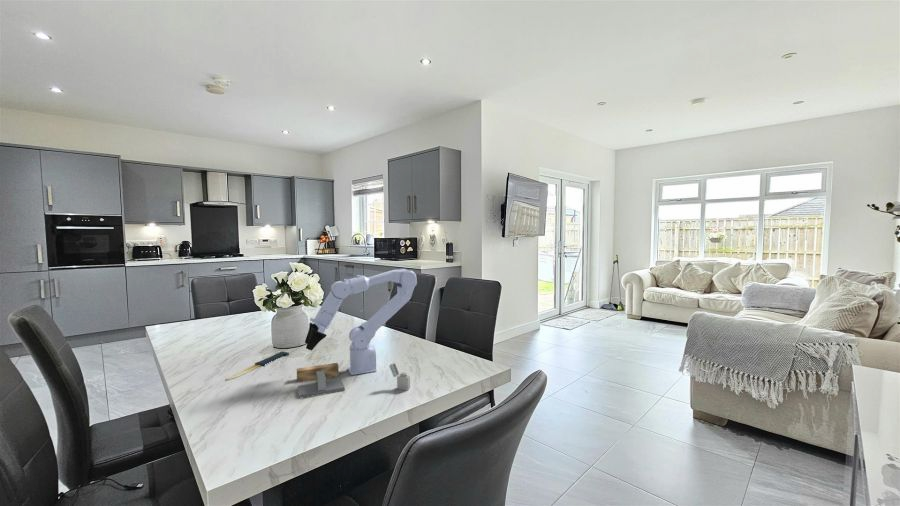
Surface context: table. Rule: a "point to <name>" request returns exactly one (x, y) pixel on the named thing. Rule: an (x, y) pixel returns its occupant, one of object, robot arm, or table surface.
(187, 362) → the table surface
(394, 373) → the lighter
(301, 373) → the bar
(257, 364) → the knife
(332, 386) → the stand
